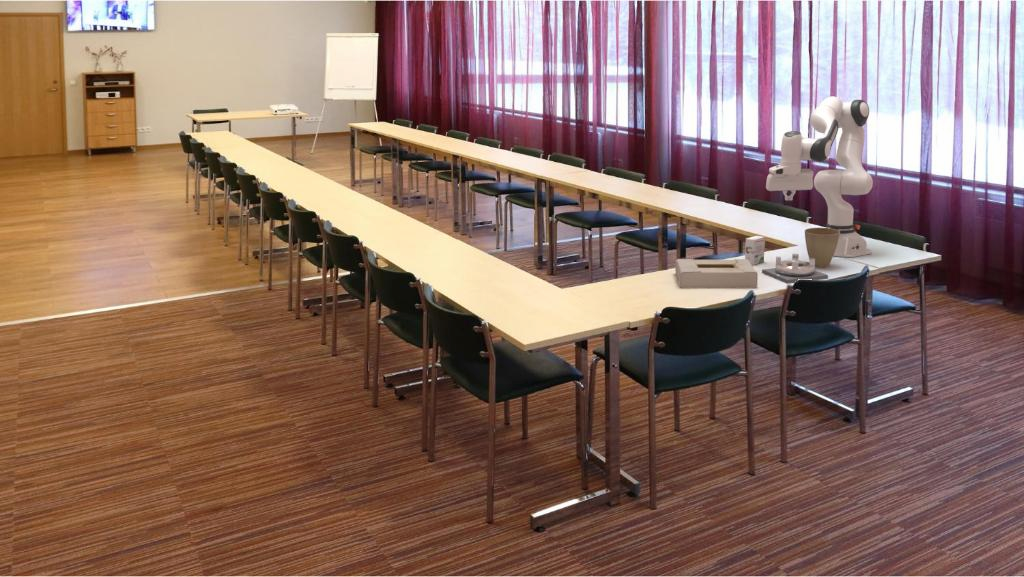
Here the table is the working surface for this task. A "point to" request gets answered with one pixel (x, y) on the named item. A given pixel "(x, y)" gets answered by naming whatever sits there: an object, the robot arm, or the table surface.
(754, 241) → the ink box
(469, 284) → the table surface
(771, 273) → the stud plate
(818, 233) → the plant pot
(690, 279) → the box
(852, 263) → the table surface
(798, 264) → the ring nut
